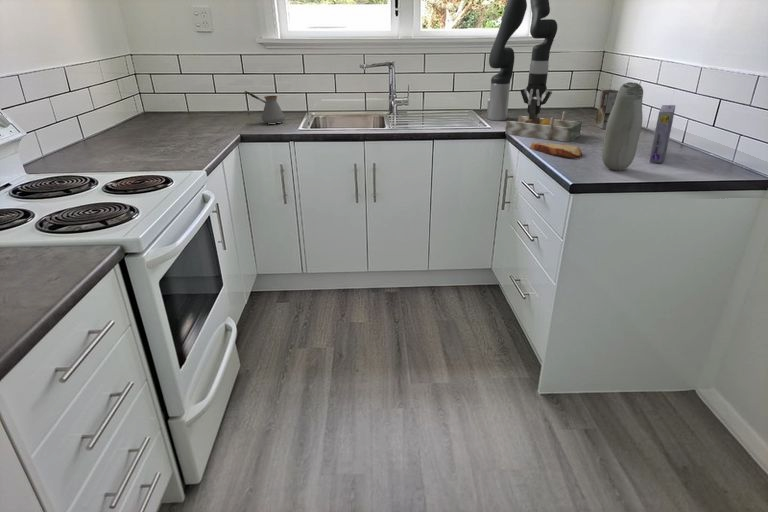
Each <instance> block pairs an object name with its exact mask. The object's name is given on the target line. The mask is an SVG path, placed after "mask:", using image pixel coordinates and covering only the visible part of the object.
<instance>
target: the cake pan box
mask: <svg viewBox="0 0 768 512" xmlns="http://www.w3.org/2000/svg"><path fill="white" fill-rule="evenodd" d="M661 105H662V104H661ZM675 110H676V105H675V104H672V105H671V104H670V105H669V104H668V105H666V104H665V105H662V106H661V108H660V109H659V112H658V116H657V121H656V126H655V131H654V136H653V143H652V147H651V152H650V157H649V162H650V163H657V164H661V163H663V164H664V162H665V158H666V155H667V150H668V146H669V142H670V136H671V132H672V126H673V121H674V117H675V116H674V115H675V112H676V111H675Z"/></svg>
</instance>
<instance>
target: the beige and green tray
mask: <svg viewBox="0 0 768 512" xmlns="http://www.w3.org/2000/svg"><path fill="white" fill-rule="evenodd" d="M561 116H562V117H561V119H555V117H550V118H548V119H549V120H550V125H541V121H542V119H544V118H545V117H544V118H543V117H540V120H539V124H532V123H525V121H526V120H528V119H529V116H526V115H525V116H523V115H518V118H517V121H511V120H507V121H506V120H505V121H506V122H505V123H506V124H505V131H504V132H505V135H511V136H519V137H526V138H535V139H543V140H547V141H551V140H552V141H558V142H559V141H560V142H568V143H570V142H571V141H573V140H574V139H576V138H578V137H579V136H581V130H582V123H583V122H582V121H573V120H566V118H567V111H562V115H561Z"/></svg>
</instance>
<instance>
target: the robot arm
mask: <svg viewBox="0 0 768 512" xmlns="http://www.w3.org/2000/svg"><path fill="white" fill-rule="evenodd" d="M529 1H530V9H531V21H530V22H531V23H530V28H529V33H530V36H531V38H532V39H544V40H543V42H542V43H539V44H535V45H534V46H533V47H532V49H531V60H530V64H529V72H528V73H529V74H528V82H527V86H526V87H525V88H523V89H520V94H521V97H522V100H523V103H524V104H527V113H528V115H529V111H530V103H531V100H533V99H535V98H536V99H537V106H536V113H535V114H536V115H537V116H538V115H539V114H540V113H541V109H542V106H543V105H546V104H547V102H548V100H549V99H550V97H551V96H552V94H553V91H552V90H549V89H548V88H547V80H548V75H549V74H548V73H549V66H550V65H549V63H550V62H549V61H550V55H551V54H550V53H551V48H552V45H553V44H554V40H555V37H556V35H557V31H558V23H557V21H556V20H555V19H554V18H553V19H549V18H548V19H547V18H546V17H548V16H549V15H550V11H551V8H550V0H529ZM527 8H528V3H527V0H507V1H506V4H505V7H504V11H503V14H502V18H501V22H500V25H499V28H498V32H497V33H496V34H497V35H496V37H495V39H494V42H493V44H492V47H491V50H490V53H489V58H488V65H489V66H490V68H492V69H497V70H498V69H499V72H498V73H496V74H495V75H493V76H492V77H491V79H490V87H489V88H490V91H489V98H488V99H487V108H486V109H487V110H486V120H487V119H488V120H490V121H506V120H507V118H508V109H509V108H508V107H509V99H510V89H511V88H510V87H511V81H512V78H513V72H514V65H515V52H514V49H513V48H512V47H507V46H506V45H507V44H508V41H509V39H511V37H512V36H513V34H514V33H515V32H516V31H517V30H518V29H519V28H520V27H521V25H522V23H523V21H524V18H525V16H526V15H525V14H526V11H527V10H528V9H527ZM527 94H528V95H527ZM543 95H545V96H544V98H543Z"/></svg>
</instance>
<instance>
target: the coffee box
mask: <svg viewBox="0 0 768 512" xmlns="http://www.w3.org/2000/svg"><path fill="white" fill-rule="evenodd" d="M617 93H618V90H617V89H601V90H600V95H599V100H598V101H599V102H598V106H597V107H598V108H597V113H596V119H595V124H594V126H595V127H598V128H600V129H602V130H606V127H607V122H608V118H609V116H610V113H611V111H612V108H613V106H614V104H615V100H616V97H617Z"/></svg>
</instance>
